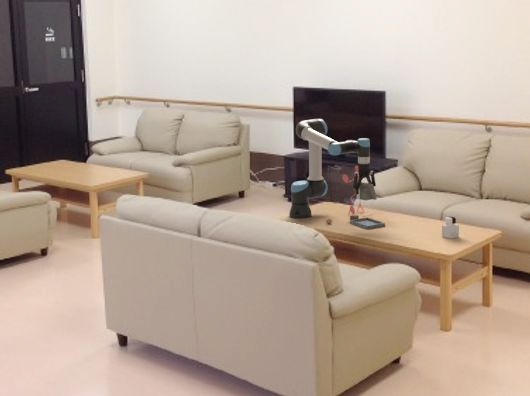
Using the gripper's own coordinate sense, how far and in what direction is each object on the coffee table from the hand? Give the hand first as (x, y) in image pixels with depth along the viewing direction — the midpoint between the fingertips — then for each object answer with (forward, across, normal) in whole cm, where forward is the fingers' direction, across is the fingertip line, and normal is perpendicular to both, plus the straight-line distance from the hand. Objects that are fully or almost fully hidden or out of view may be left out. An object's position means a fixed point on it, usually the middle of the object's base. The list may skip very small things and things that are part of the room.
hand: (364, 198), depth 500 cm
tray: (+18, +2, 0) cm, 18 cm away
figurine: (+18, +13, +28) cm, 36 cm away
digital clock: (+1, +1, 0) cm, 1 cm away
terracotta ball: (+17, -18, +16) cm, 29 cm away
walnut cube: (+18, 0, +13) cm, 22 cm away
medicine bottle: (+18, +29, -50) cm, 61 cm away
